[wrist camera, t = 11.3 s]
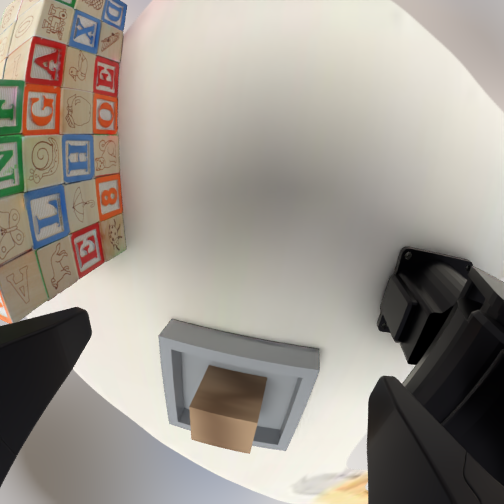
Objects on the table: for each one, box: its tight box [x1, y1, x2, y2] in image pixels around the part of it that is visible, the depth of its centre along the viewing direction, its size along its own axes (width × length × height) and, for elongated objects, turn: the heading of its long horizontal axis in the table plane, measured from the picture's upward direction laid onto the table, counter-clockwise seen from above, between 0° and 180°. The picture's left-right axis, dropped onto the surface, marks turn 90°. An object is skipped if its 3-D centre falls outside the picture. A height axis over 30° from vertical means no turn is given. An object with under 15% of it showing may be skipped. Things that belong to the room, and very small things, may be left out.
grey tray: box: [159, 319, 319, 451], centre depth 22 cm, size 12×12×2 cm
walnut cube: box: [189, 365, 267, 454], centre depth 20 cm, size 5×5×5 cm
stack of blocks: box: [0, 0, 127, 324], centre depth 12 cm, size 21×6×12 cm, turn 1°
